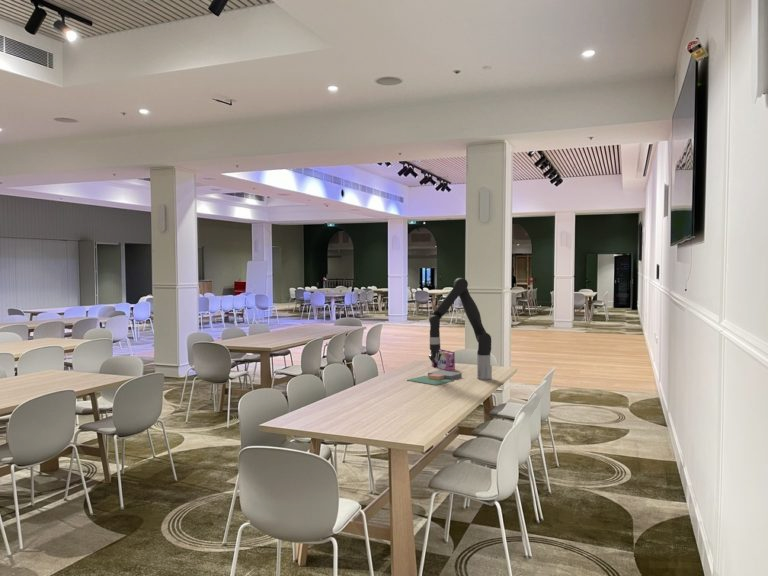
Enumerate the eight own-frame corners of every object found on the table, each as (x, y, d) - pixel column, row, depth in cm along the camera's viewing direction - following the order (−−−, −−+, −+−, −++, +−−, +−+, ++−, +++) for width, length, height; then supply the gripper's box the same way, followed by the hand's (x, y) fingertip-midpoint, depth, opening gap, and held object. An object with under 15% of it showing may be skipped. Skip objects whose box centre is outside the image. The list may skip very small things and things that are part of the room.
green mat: (453, 380, 398) (453, 380, 398) (436, 385, 384) (436, 384, 384) (424, 376, 416) (424, 375, 416) (406, 380, 401) (406, 379, 401)
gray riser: (461, 377, 411) (461, 373, 411) (450, 380, 401) (450, 376, 401) (439, 374, 425) (439, 370, 425) (427, 376, 414) (427, 372, 414)
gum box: (456, 369, 442) (456, 352, 442) (447, 370, 439) (447, 353, 438) (439, 365, 464) (439, 348, 463) (431, 366, 460) (431, 349, 460)
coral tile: (444, 378, 404) (444, 375, 404) (438, 380, 399) (438, 376, 399) (434, 377, 410) (434, 373, 410) (428, 378, 405) (428, 375, 405)
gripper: (433, 344, 396) (434, 369, 397) (444, 342, 406) (445, 366, 406) (425, 343, 401) (425, 368, 402) (436, 341, 411) (436, 365, 411)
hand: (435, 367), depth 404 cm, fingers closed
